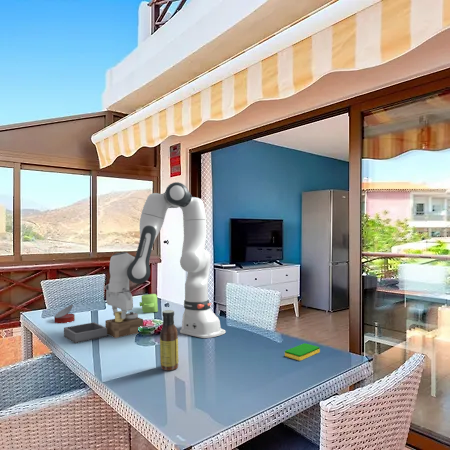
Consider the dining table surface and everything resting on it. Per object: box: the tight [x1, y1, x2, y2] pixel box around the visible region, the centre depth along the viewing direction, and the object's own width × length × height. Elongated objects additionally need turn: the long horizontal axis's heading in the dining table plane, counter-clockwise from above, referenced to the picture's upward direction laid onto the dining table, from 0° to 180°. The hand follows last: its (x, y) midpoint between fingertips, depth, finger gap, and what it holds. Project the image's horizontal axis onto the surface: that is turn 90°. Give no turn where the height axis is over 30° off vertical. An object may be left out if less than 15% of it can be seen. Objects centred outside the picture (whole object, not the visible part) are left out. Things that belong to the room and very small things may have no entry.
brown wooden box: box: [104, 311, 144, 339], centre depth 169 cm, size 10×14×9 cm
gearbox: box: [139, 293, 159, 314], centre depth 215 cm, size 18×10×10 cm, turn 17°
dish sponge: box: [284, 343, 321, 362], centre depth 140 cm, size 7×14×2 cm, turn 134°
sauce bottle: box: [159, 309, 179, 371], centre depth 126 cm, size 6×6×20 cm
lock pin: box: [114, 310, 124, 323], centre depth 168 cm, size 4×4×10 cm
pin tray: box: [63, 321, 108, 345], centre depth 163 cm, size 14×14×4 cm
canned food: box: [53, 304, 76, 324], centre depth 191 cm, size 11×10×10 cm
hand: (119, 317), depth 168 cm, fingers open, 6 cm apart
